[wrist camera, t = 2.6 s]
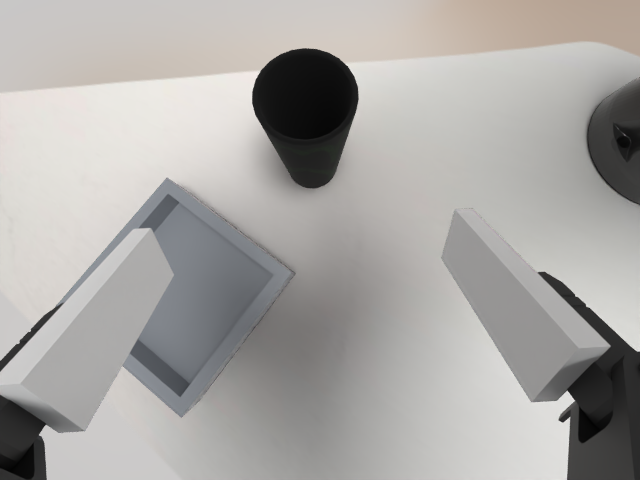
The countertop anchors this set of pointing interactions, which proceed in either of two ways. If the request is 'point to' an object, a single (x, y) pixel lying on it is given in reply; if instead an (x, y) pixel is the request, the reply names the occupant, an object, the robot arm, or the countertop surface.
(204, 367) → the box
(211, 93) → the countertop surface
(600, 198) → the countertop surface
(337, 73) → the cup
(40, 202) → the countertop surface
